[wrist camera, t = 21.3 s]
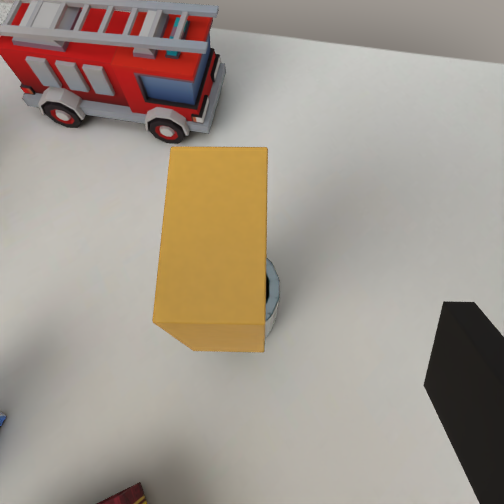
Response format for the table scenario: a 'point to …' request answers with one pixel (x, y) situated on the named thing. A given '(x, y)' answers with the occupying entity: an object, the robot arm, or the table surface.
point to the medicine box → (2, 418)
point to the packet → (214, 249)
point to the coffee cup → (271, 296)
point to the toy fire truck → (116, 62)
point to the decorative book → (127, 496)
